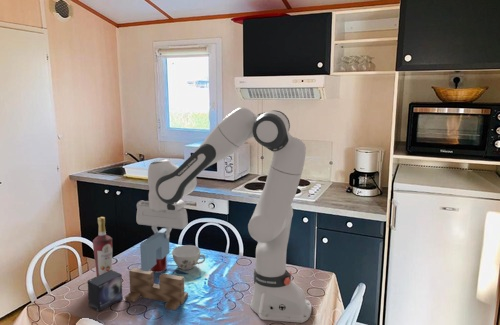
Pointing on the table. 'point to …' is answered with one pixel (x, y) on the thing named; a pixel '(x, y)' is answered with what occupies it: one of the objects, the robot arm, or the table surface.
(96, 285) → the small box
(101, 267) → the liquor
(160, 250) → the blue-gray flat plate
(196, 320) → the table surface
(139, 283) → the walnut slotted board
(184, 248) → the teacup
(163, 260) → the soda can
